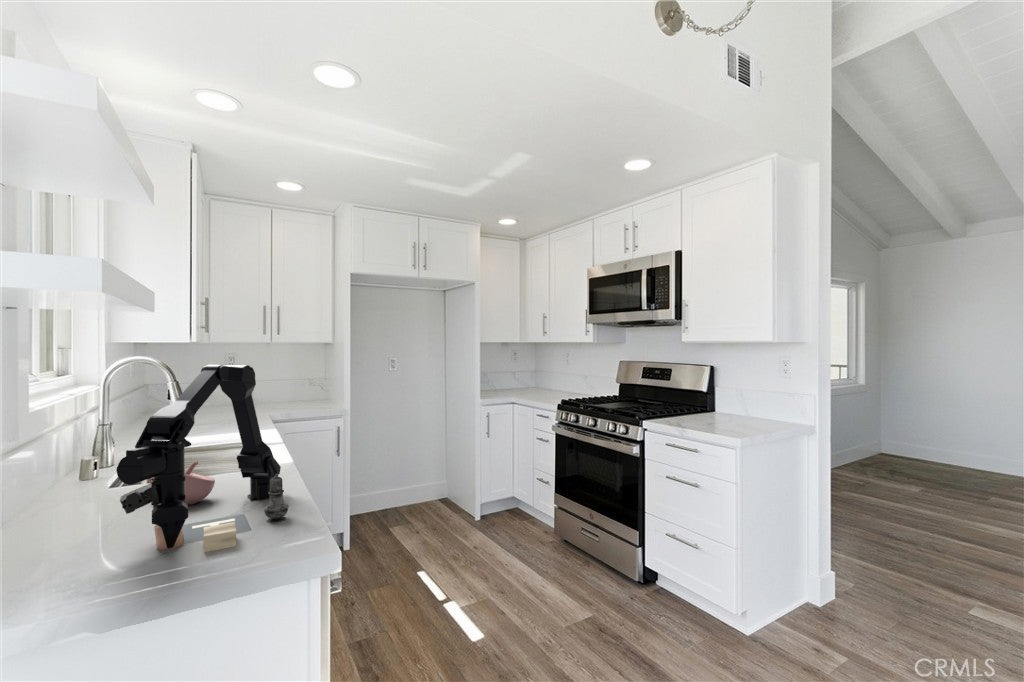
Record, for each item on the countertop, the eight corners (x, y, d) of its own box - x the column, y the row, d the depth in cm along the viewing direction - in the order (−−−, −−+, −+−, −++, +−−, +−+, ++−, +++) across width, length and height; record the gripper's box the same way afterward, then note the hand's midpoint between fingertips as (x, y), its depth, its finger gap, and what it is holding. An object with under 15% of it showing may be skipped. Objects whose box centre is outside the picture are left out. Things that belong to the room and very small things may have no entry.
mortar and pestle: (222, 502, 141) (221, 461, 141) (172, 514, 132) (171, 470, 132) (205, 494, 149) (205, 455, 149) (157, 504, 140) (157, 463, 140)
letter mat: (179, 527, 123) (179, 525, 123) (244, 515, 131) (244, 513, 131) (181, 546, 112) (181, 544, 112) (252, 532, 120) (252, 530, 120)
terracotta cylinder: (157, 545, 112) (154, 523, 112) (184, 538, 115) (181, 517, 115) (156, 553, 108) (153, 530, 108) (184, 546, 111) (181, 523, 111)
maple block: (203, 545, 113) (203, 527, 113) (234, 539, 116) (234, 522, 116) (203, 555, 108) (203, 536, 108) (236, 548, 111) (236, 530, 111)
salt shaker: (279, 526, 123) (278, 477, 123) (257, 524, 124) (257, 475, 124) (294, 518, 129) (294, 470, 129) (273, 516, 130) (273, 469, 130)
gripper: (125, 467, 114) (126, 537, 115) (119, 488, 99) (120, 568, 99) (184, 460, 121) (185, 526, 121) (187, 478, 105) (188, 554, 106)
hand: (170, 542), depth 111 cm, fingers open, 7 cm apart
